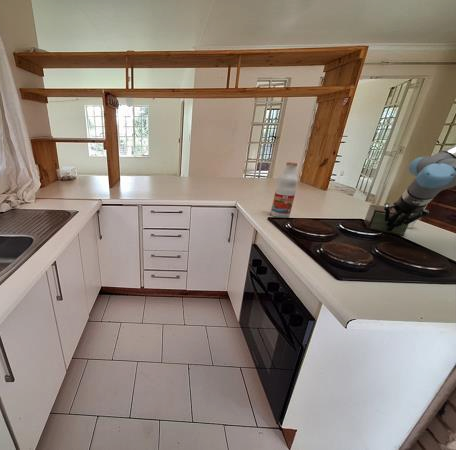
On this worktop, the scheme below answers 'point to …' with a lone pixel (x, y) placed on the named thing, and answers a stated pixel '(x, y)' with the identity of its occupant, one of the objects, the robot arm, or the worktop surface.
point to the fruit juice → (285, 192)
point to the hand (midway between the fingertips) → (388, 228)
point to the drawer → (385, 224)
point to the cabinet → (371, 214)
